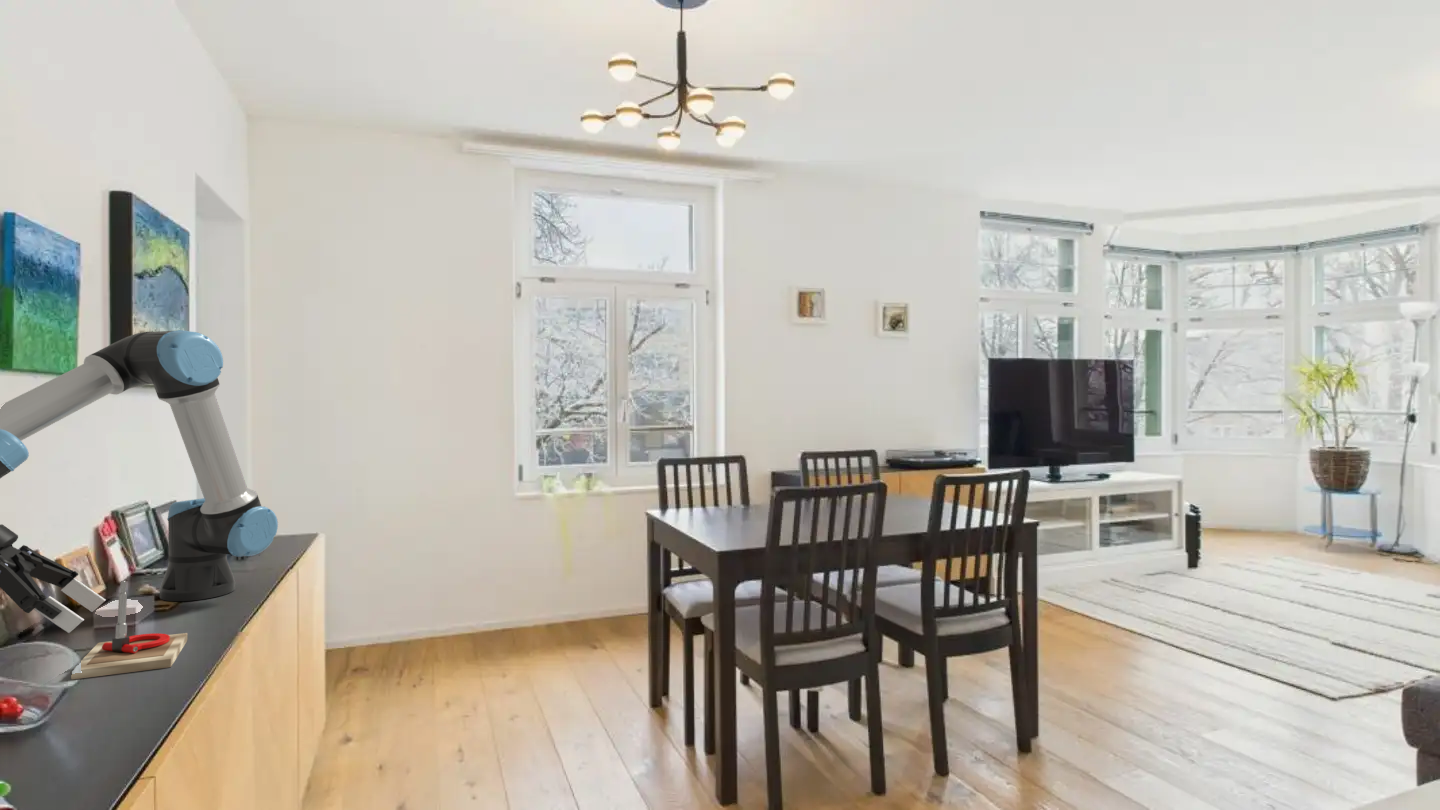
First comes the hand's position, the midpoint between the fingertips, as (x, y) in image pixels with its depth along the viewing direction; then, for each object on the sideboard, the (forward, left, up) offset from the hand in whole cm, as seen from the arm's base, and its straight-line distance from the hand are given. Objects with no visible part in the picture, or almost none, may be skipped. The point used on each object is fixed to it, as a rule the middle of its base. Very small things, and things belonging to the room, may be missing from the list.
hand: (88, 615), depth 137 cm
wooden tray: (0, +6, -9) cm, 11 cm away
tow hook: (-3, +7, -7) cm, 11 cm away
